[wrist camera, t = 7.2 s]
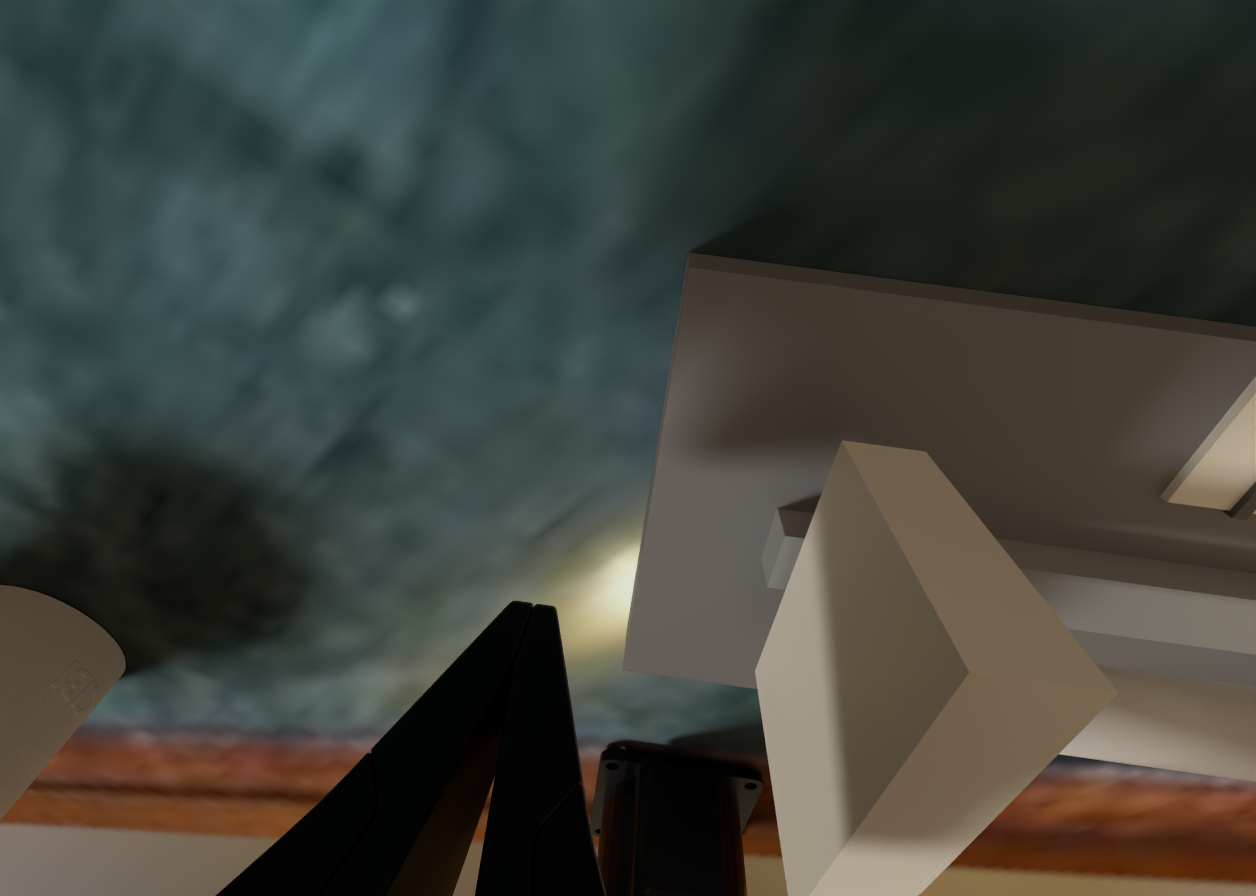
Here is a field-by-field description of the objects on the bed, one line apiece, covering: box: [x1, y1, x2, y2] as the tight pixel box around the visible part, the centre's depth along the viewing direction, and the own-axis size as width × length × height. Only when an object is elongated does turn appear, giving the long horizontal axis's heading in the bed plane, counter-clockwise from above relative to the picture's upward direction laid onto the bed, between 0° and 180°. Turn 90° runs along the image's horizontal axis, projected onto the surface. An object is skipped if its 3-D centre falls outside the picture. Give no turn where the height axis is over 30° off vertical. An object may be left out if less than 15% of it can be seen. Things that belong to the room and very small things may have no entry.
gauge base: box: [623, 252, 1256, 689], centre depth 10 cm, size 12×24×8 cm, turn 84°
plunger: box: [755, 440, 1256, 896], centre depth 9 cm, size 7×9×5 cm
